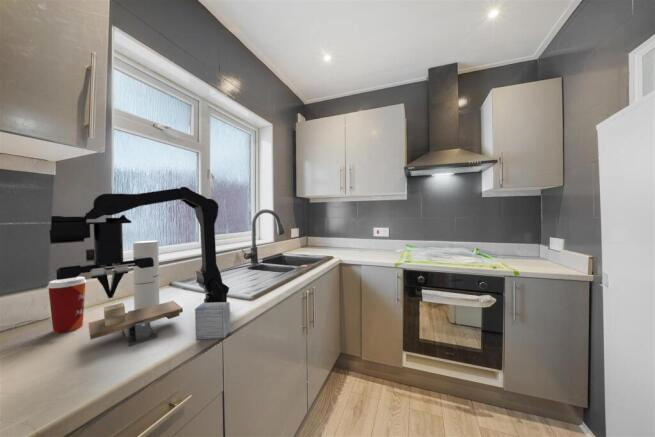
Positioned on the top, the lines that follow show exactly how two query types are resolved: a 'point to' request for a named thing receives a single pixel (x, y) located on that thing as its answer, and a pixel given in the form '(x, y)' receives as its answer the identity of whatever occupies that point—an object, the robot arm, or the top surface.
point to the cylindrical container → (146, 276)
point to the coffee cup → (67, 303)
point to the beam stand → (139, 333)
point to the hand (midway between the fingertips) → (110, 297)
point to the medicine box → (212, 320)
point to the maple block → (114, 314)
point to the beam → (135, 318)
